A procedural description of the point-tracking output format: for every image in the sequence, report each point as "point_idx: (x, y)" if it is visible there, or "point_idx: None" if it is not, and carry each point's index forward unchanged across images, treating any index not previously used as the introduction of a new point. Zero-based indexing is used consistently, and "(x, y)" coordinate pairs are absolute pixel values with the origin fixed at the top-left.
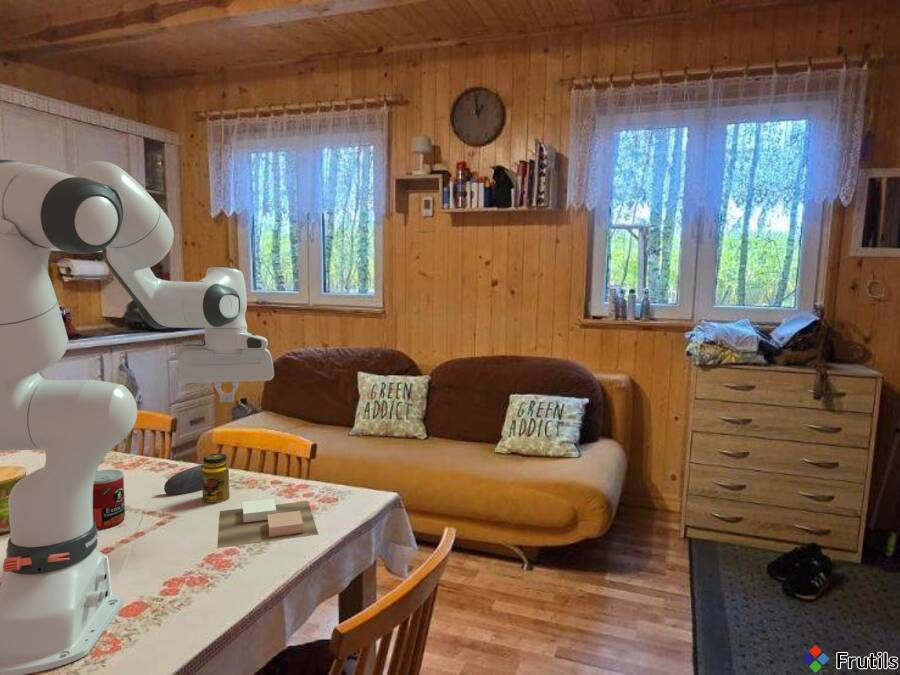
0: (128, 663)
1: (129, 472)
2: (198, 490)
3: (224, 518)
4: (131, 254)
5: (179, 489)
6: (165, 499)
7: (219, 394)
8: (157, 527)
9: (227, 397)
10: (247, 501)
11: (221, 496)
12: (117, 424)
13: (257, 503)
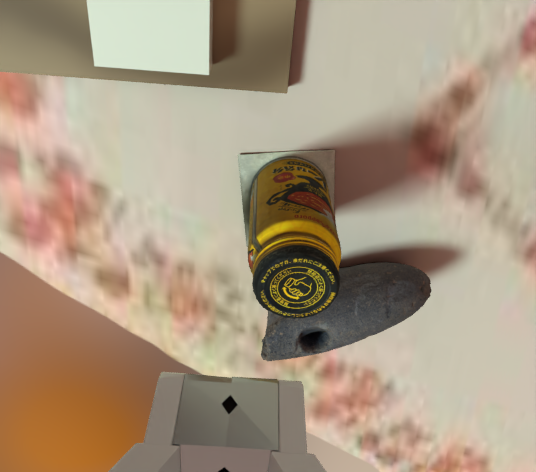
0: None
1: (466, 433)
2: None
3: (277, 18)
4: None
5: (389, 270)
6: (418, 262)
7: (313, 454)
8: (477, 68)
9: (223, 411)
10: (192, 73)
11: (276, 174)
12: None
13: (156, 39)
